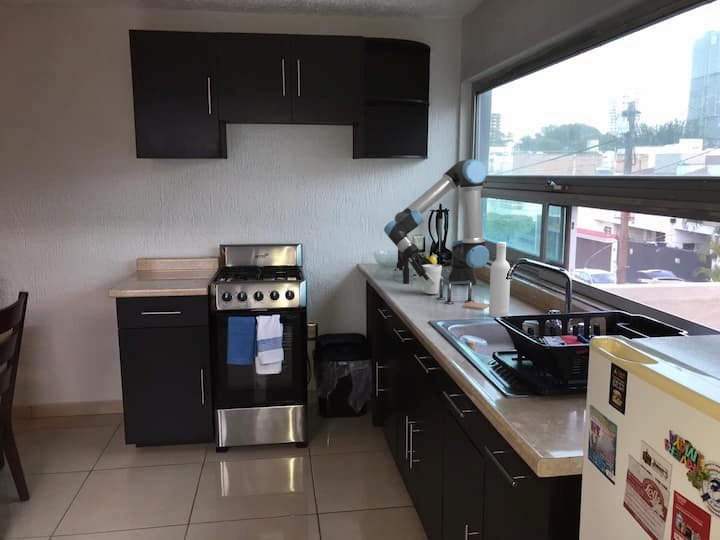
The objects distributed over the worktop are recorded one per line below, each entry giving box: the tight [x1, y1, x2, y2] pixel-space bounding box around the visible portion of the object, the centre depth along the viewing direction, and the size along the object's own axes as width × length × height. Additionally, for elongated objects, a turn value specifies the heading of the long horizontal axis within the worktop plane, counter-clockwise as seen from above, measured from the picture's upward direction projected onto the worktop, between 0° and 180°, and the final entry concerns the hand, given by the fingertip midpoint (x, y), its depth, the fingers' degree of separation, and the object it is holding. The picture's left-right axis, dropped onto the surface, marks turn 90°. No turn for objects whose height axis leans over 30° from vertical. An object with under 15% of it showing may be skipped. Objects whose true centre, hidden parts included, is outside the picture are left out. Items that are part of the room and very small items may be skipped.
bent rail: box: [436, 278, 475, 305], centre depth 263 cm, size 11×18×10 cm, turn 58°
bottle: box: [488, 241, 511, 319], centre depth 234 cm, size 8×8×30 cm
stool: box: [387, 248, 418, 285], centre depth 321 cm, size 16×21×33 cm
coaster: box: [461, 301, 489, 311], centre depth 253 cm, size 9×9×1 cm
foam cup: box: [422, 263, 443, 295], centre depth 279 cm, size 10×9×13 cm
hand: (437, 282), depth 278 cm, fingers closed on foam cup, 9 cm apart
